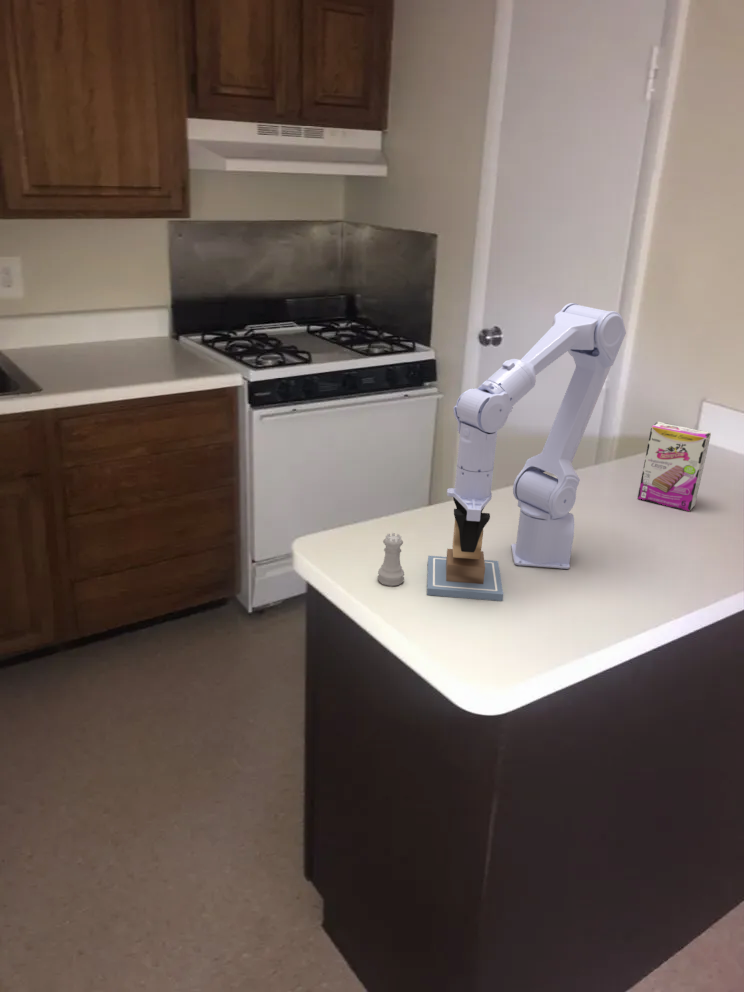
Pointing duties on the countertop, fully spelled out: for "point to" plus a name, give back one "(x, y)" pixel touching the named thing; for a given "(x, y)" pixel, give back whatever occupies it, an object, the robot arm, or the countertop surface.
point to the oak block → (457, 548)
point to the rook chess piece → (391, 562)
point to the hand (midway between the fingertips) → (467, 544)
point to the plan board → (467, 585)
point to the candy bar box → (673, 465)
